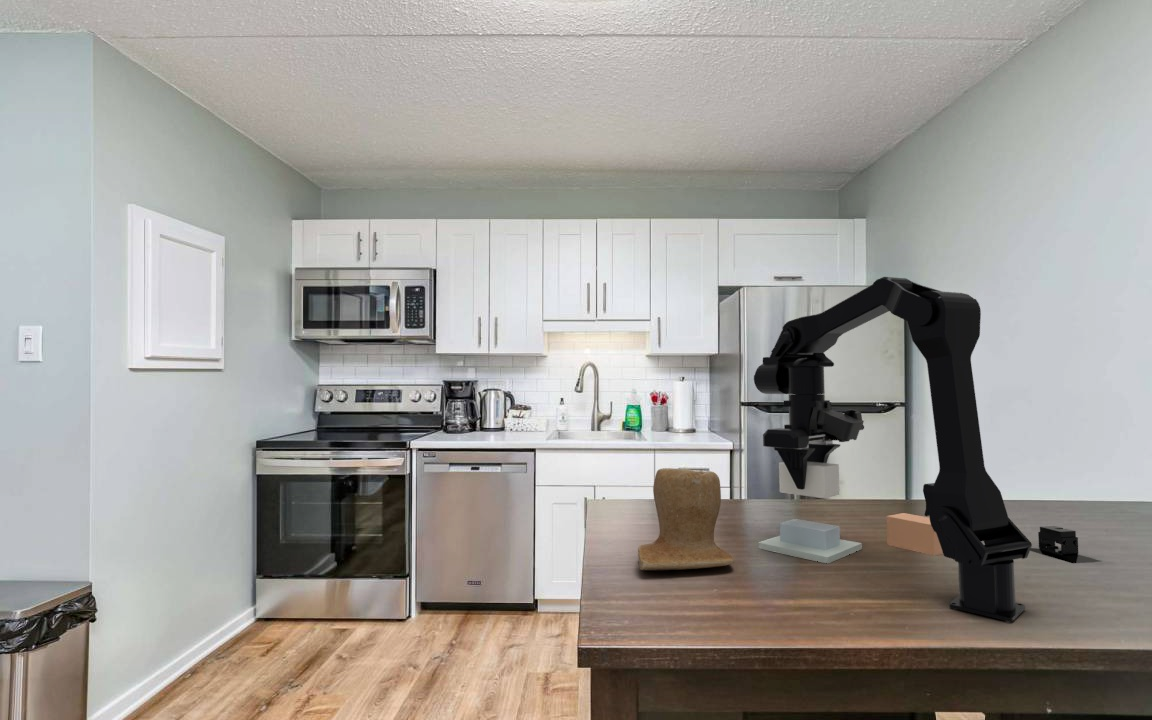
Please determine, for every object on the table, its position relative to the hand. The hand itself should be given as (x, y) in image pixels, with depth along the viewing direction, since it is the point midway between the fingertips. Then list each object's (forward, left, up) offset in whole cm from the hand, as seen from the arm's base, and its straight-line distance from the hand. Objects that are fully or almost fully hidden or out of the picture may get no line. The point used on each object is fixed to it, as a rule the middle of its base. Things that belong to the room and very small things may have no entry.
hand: (808, 487), depth 102 cm
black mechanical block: (+26, -28, -11) cm, 40 cm away
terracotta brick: (+14, -12, -11) cm, 21 cm away
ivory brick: (0, 0, -1) cm, 1 cm away
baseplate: (0, 0, -10) cm, 10 cm away
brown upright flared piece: (-23, +9, -11) cm, 27 cm away
